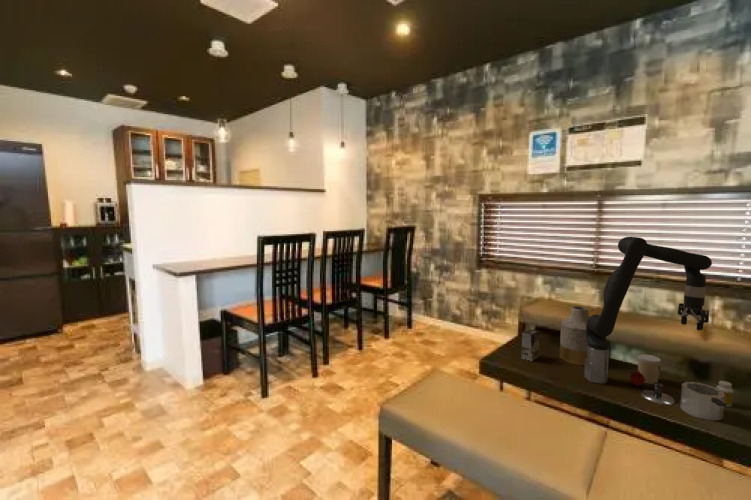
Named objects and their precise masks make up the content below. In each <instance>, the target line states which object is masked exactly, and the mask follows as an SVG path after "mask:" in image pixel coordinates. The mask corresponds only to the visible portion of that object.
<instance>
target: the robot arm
mask: <svg viewBox="0 0 751 500" xmlns="http://www.w3.org/2000/svg"><path fill="white" fill-rule="evenodd" d="M617 249H618V251H619V252H621V254H623V255H624V257H623V260H622V262H621V263H620V264H619V266H618V267H617V268H616V269H615V270H614V271H613V272H612V273H611V274H610V276H609V277H608V278H607V281H606V284H605V286H604V288H603V306H602V309H601V312H600V314H592V315H589V318H588V320H587V324H586V338H587V342H588V349H587V359H585V366H584V375H583V376H584V378H585V379H586V380H587V381H589V382H591V383H595V384H596V383H597V384H608V383H607V382H608V376H609V375H608V374H609V373H608V372H609V359H610V358H609V357H610V356H609V355H610V343H609V340H607V337H609V336H610V335H611V334H612V333H613V331H614V328H615V326H616V322H617V319H618V316H619V312H620V310H621V307H622V305H623V302H624V300H625V297H626V295H627V294H628V293H627V292H628V291H629V288H630V286H631V283H632V281H633V278H634V275H635V274H636V273H637V272H636V271H637V269H638V267H639V265H640V263H641V262H642V260H643V259H644V257H648V258H651V259H655V260H659V261H662V262H666V263H669V264H674V265H678V266H683V267H684V272H685V275H686V279H685V288H684V293H683V302H680V303H678V307H677V308H678V309H677V315H679V316H680V317H681V318H680V324H681V325H683V326H684V325H685V326H686V325H687V323H688V317H689V316H692V317H694V319H696V331H703V329H704V324H705V323H707V324H708V323H709V320H710V318H709V317H710V316H709V315H710V310H708V309H703V307H704V306H705V302H706V301H705V298H706V283H707V282H706V280H707V277H706V275H704V274H703V273H701V271H703V270H705V271H706V270H708V269H710V267H711V266H712V265H713V261H712V259H711V258H710V257H709V256H708V255H704V254H699V253H692V252H688V251H684V250H683V249H681V250H680V249H677V248H672V247H669V246H660V245H656V244H655V245H654V244H650V243H648V242H647V240H646V239H645V238H643V237H639V236H638V237H637V236H626V237H623V238H621V239H620V240H619V241H618V242H617Z"/></svg>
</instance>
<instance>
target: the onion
mask: <svg viewBox="0 0 751 500" xmlns="http://www.w3.org/2000/svg"><path fill="white" fill-rule="evenodd" d="M629 377H630V381H631V383H633V384H634V385H635V386H636V387H639V386H642V385H644V384H645V378H644V376H643V375H642V374H641V373H640V372H639V370H638V369H637V370H635V371H633V372H632V373H631V374H630V376H629Z"/></svg>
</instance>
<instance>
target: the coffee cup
mask: <svg viewBox="0 0 751 500" xmlns="http://www.w3.org/2000/svg"><path fill="white" fill-rule="evenodd" d="M661 360H662V359H660V358H659V357H657V356H655V355H652V354H651V355H650V354H642V353H641V354H638V356H637V370H639V372H640V373H641V374H642V375H643V376H644V378H645V382H644V384H648V385H649V384H650V385H653V383H654V382H657V383H659V382H658V381H659V378H660V370H661V365H662V361H661Z"/></svg>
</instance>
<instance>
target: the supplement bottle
mask: <svg viewBox="0 0 751 500" xmlns="http://www.w3.org/2000/svg"><path fill="white" fill-rule="evenodd" d="M715 388H717V389H719V390H720V391H722V392H723V393H724V395H725V400H724V403H726V406H725V407H726V408H727V407H729V408H730V407H732V406H733V401H734V389H733V388H732V383H731V382H729V381H725V380H719V382H718V385H716V387H715Z"/></svg>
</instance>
